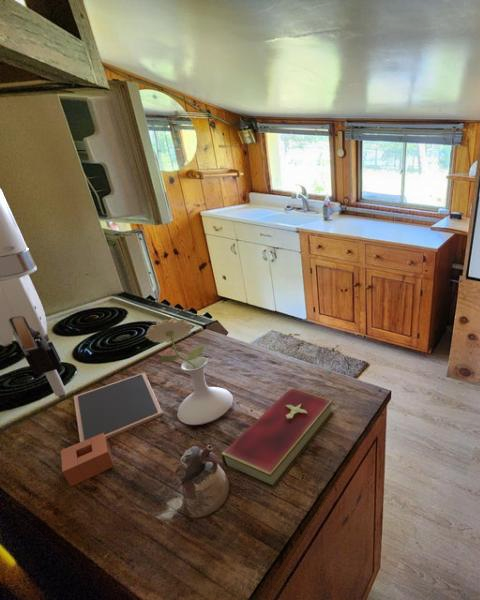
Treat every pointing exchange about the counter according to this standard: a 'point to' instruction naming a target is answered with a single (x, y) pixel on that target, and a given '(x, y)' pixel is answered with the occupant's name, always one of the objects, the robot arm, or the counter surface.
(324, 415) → the hardcover book
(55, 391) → the light grey square peg
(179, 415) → the flower in vase
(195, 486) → the figurine
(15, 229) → the robot arm
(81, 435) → the framed chalkboard
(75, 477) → the block
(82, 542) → the counter surface
